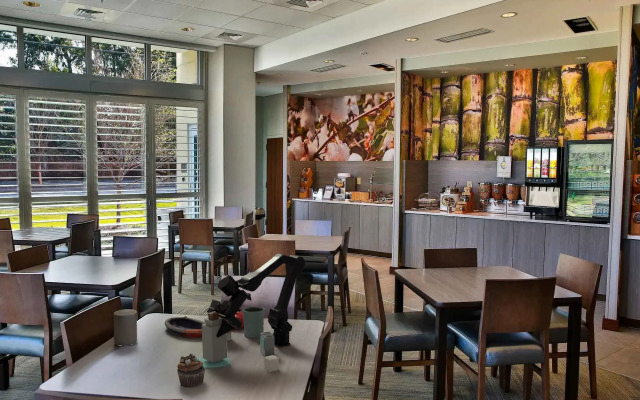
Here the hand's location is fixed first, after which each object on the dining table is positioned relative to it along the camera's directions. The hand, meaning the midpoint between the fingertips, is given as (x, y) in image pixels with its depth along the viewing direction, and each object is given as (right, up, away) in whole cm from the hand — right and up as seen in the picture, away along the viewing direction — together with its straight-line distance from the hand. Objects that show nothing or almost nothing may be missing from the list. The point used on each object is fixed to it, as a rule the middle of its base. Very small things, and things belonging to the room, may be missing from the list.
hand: (211, 335), depth 202 cm
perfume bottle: (+1, -9, +1) cm, 9 cm away
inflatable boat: (-19, -9, +39) cm, 45 cm away
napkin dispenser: (+21, -10, +11) cm, 26 cm away
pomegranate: (+2, -9, +47) cm, 48 cm away
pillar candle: (-43, -10, +25) cm, 50 cm away
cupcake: (-3, -12, -18) cm, 22 cm away
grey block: (+24, -11, -6) cm, 27 cm away
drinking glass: (+12, -9, +36) cm, 39 cm away
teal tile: (+1, -11, +1) cm, 11 cm away
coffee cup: (0, -9, +29) cm, 30 cm away
